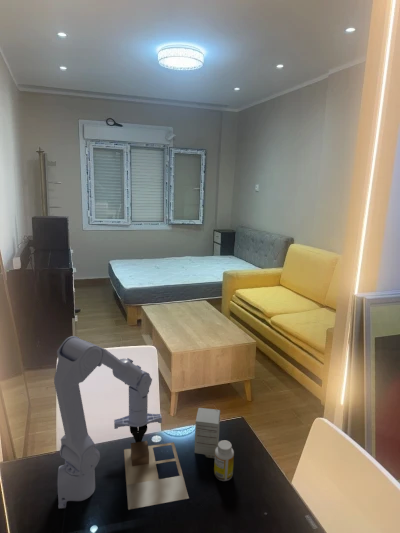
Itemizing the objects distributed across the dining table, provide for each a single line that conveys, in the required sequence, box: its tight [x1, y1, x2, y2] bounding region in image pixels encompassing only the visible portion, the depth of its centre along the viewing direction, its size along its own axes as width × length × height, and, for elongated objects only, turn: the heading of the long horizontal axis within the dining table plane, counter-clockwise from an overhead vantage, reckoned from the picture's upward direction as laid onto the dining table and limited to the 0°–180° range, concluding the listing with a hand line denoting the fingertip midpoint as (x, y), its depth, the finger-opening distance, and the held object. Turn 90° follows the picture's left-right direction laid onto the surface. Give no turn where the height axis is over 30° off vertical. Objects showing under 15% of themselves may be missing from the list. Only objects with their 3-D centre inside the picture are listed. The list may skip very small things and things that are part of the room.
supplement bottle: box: [213, 439, 235, 482], centre depth 105 cm, size 6×6×10 cm
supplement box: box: [194, 407, 221, 459], centre depth 115 cm, size 7×7×13 cm
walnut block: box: [130, 440, 149, 466], centre depth 109 cm, size 5×5×4 cm
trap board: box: [123, 441, 190, 511], centre depth 105 cm, size 16×22×1 cm
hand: (138, 444), depth 114 cm, fingers closed
